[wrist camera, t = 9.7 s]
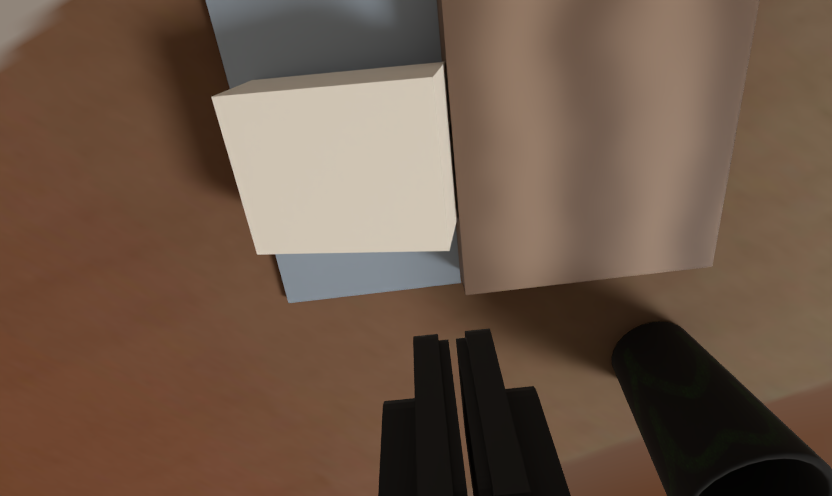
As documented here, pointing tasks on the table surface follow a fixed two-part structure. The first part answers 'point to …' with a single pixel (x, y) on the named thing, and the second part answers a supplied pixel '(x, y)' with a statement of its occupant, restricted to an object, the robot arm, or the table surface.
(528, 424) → the robot arm
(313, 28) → the mat
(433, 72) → the cream rectangular block
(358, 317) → the table surface
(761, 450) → the cup
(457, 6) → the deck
